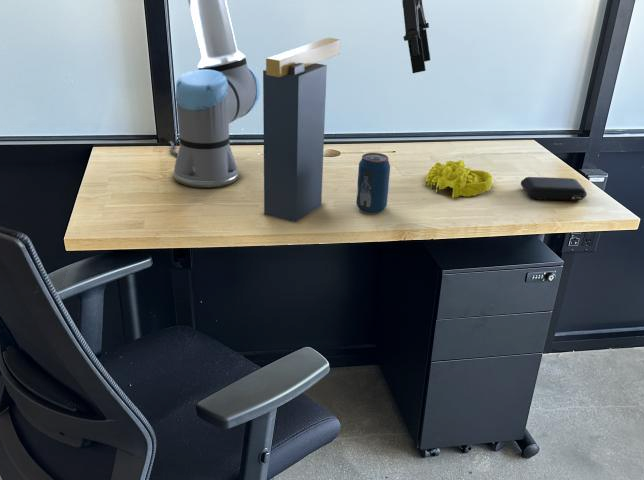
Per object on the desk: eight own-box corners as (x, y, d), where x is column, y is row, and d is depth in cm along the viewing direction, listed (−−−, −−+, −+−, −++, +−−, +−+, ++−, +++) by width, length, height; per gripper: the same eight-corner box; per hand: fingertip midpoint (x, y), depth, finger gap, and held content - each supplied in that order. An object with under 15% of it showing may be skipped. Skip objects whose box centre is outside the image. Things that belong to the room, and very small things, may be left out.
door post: (290, 197, 172) (292, 51, 154) (321, 204, 169) (327, 57, 151) (264, 214, 163) (262, 61, 145) (295, 222, 160) (298, 68, 142)
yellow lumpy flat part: (502, 192, 182) (505, 175, 179) (447, 200, 175) (450, 183, 173) (463, 170, 193) (465, 154, 191) (411, 177, 187) (413, 160, 185)
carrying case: (528, 202, 176) (588, 204, 177) (531, 190, 175) (592, 192, 176) (517, 186, 185) (575, 188, 186) (520, 174, 183) (578, 176, 184)
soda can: (385, 204, 171) (389, 152, 164) (387, 215, 166) (392, 162, 159) (355, 203, 171) (358, 151, 164) (356, 214, 165) (360, 161, 158)
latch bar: (327, 52, 162) (327, 37, 160) (339, 54, 161) (340, 39, 159) (266, 74, 143) (265, 58, 141) (279, 77, 142) (279, 60, 140)
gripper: (418, -45, 141) (434, 73, 151) (428, -50, 161) (442, 54, 172) (379, -36, 143) (398, 80, 153) (394, -42, 163) (410, 60, 174)
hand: (421, 66), depth 162 cm, fingers open, 13 cm apart
